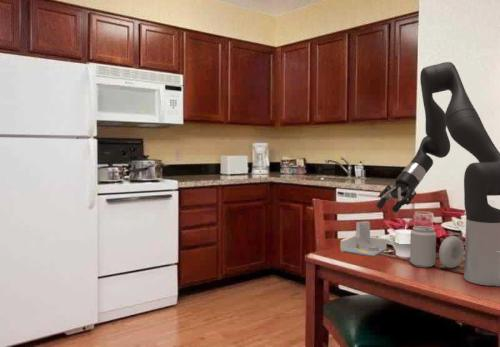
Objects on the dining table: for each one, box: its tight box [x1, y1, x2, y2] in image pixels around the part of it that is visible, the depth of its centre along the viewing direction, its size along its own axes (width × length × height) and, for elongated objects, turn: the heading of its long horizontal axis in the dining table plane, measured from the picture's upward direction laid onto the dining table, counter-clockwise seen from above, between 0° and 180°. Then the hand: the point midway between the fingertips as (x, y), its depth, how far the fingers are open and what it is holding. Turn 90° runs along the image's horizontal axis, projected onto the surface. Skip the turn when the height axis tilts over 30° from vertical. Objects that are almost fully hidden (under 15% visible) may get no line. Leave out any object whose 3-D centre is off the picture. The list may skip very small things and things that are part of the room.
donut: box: [438, 235, 465, 269], centre depth 130 cm, size 10×4×10 cm, turn 121°
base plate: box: [343, 245, 386, 258], centre depth 151 cm, size 11×11×1 cm
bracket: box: [355, 220, 379, 253], centre depth 151 cm, size 7×4×10 cm, turn 22°
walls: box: [339, 234, 388, 253], centre depth 152 cm, size 12×12×4 cm
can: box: [409, 225, 437, 268], centre depth 134 cm, size 8×8×12 cm
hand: (385, 209), depth 156 cm, fingers open, 8 cm apart
